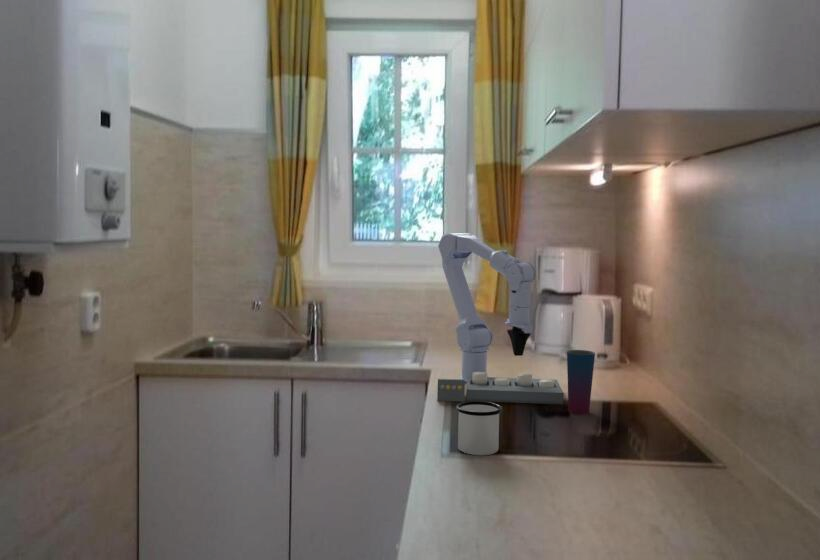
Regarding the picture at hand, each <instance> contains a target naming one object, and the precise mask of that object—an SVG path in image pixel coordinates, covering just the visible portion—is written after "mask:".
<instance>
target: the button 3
mask: <svg viewBox="0 0 820 560" xmlns="http://www.w3.org/2000/svg"><path fill="white" fill-rule="evenodd" d="M516 374H517V375H516V378H517V386H528V387H532V379H533V374H530V373H527V372H526V373H524V372H523V373H522V372H521V373H516Z"/></svg>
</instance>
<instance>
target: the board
mask: <svg viewBox="0 0 820 560" xmlns="http://www.w3.org/2000/svg"><path fill="white" fill-rule="evenodd" d="M496 378H497V377H496V376H495V377H491V376H487V385H472V377H468V376H467V382H466V390H465V393H466V394H465V395H466V397H465V398H466V400H465V402H469V401H482V402H490V403H517V404H545V405H564V391H563V389H562V387H561V385H560V383H559V382H558V379H552V378H551V379H549V378H548V379H547V378H544V379H546V380H553V381H554V387H539V380H544V379H543V378H532V387H528V386H517V377H506V378H507V379H509V386H500V385H494V384H495V379H496Z"/></svg>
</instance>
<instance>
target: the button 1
mask: <svg viewBox="0 0 820 560" xmlns="http://www.w3.org/2000/svg"><path fill="white" fill-rule="evenodd" d="M487 377H488V373H487V372H486V373H485V372H473V376H472V385H487Z"/></svg>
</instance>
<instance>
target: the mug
mask: <svg viewBox="0 0 820 560" xmlns="http://www.w3.org/2000/svg"><path fill="white" fill-rule="evenodd" d="M455 410H456V411H457V412H458V427H457V428H458V430H457V449H458V450H459V452H461V451H462V453H463V452H464V454H466V453H467V454H466V455H470V454H471V456H479V457H480V456H482V457H483V456H490V455H493V454H495V453H497V452H498V451H499V443H500V441H499V436H500V433H499V432H500V414H501V413H502V412H503V407H502V406H501V405H499V404H497V403H496V402H488V401H461V402H459V403H458V404H456V405H455Z"/></svg>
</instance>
